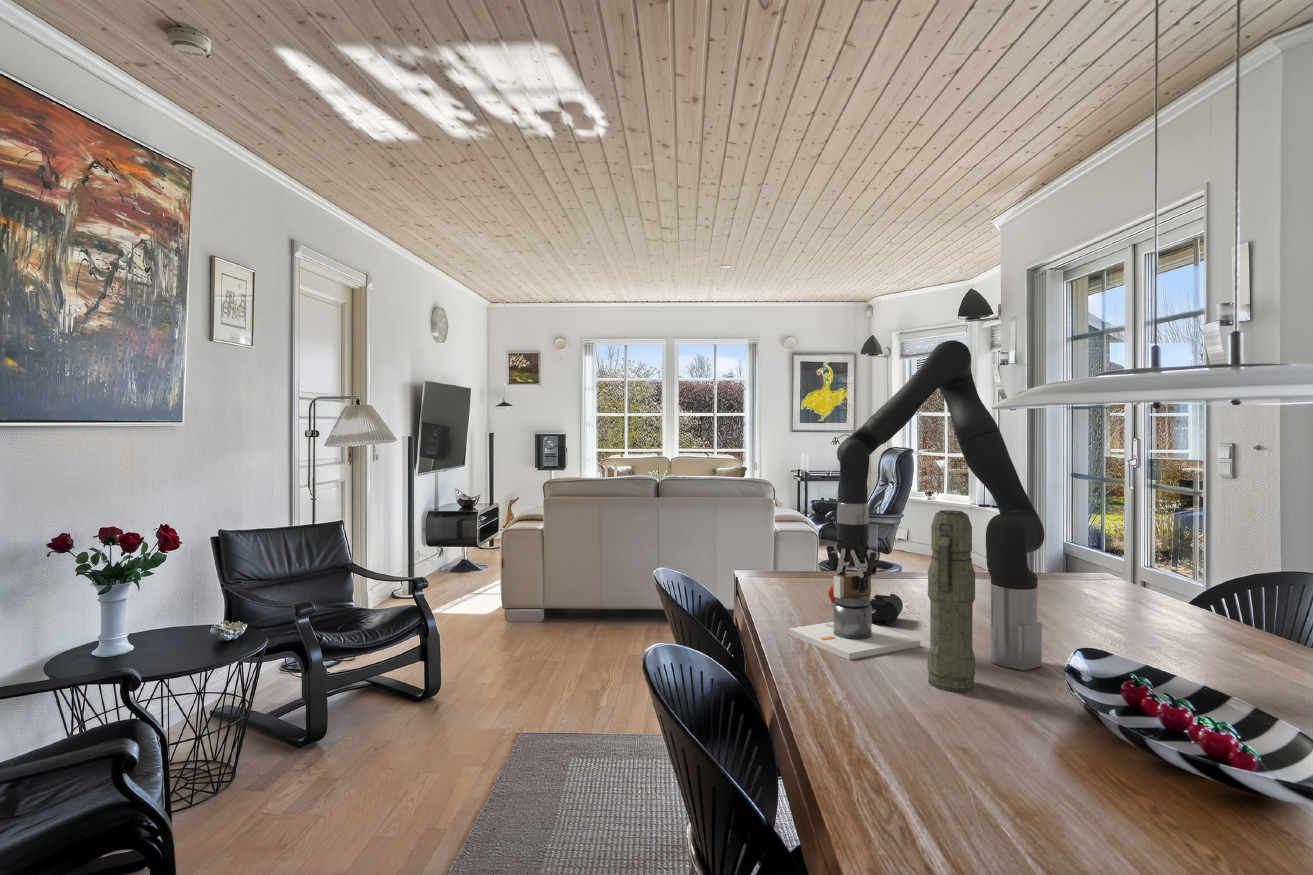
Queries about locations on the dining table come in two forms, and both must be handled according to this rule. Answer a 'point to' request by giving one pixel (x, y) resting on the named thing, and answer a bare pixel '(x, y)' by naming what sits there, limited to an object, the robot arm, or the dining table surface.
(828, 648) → the lock base
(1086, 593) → the dining table surface
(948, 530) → the thermos
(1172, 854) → the dining table surface
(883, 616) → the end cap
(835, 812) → the dining table surface
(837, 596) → the lock lever handle
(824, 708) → the dining table surface
